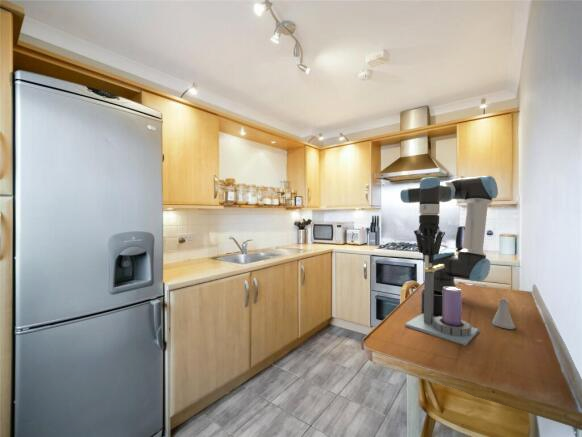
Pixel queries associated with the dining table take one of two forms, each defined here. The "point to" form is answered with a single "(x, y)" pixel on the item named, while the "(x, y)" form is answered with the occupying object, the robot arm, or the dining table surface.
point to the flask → (503, 316)
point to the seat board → (433, 331)
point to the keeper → (434, 268)
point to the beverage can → (451, 306)
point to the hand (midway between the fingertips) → (428, 270)
